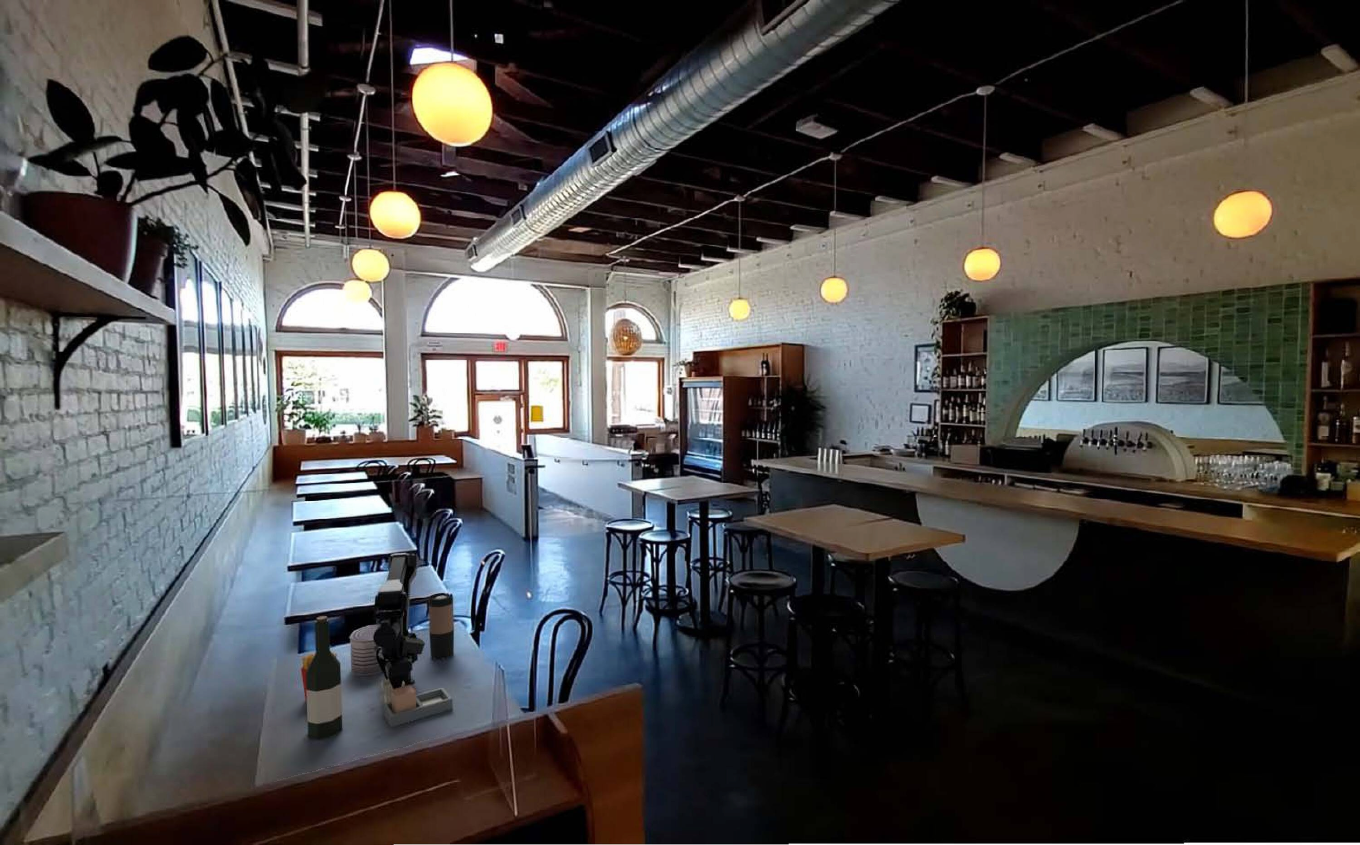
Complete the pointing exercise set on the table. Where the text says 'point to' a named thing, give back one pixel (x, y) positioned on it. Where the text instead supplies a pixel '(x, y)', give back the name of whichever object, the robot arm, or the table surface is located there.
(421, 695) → the pocket frame
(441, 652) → the travel mug
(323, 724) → the wine bottle
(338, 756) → the table surface
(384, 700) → the ivory block
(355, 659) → the can
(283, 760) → the table surface
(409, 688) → the terracotta block
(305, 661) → the french fries
